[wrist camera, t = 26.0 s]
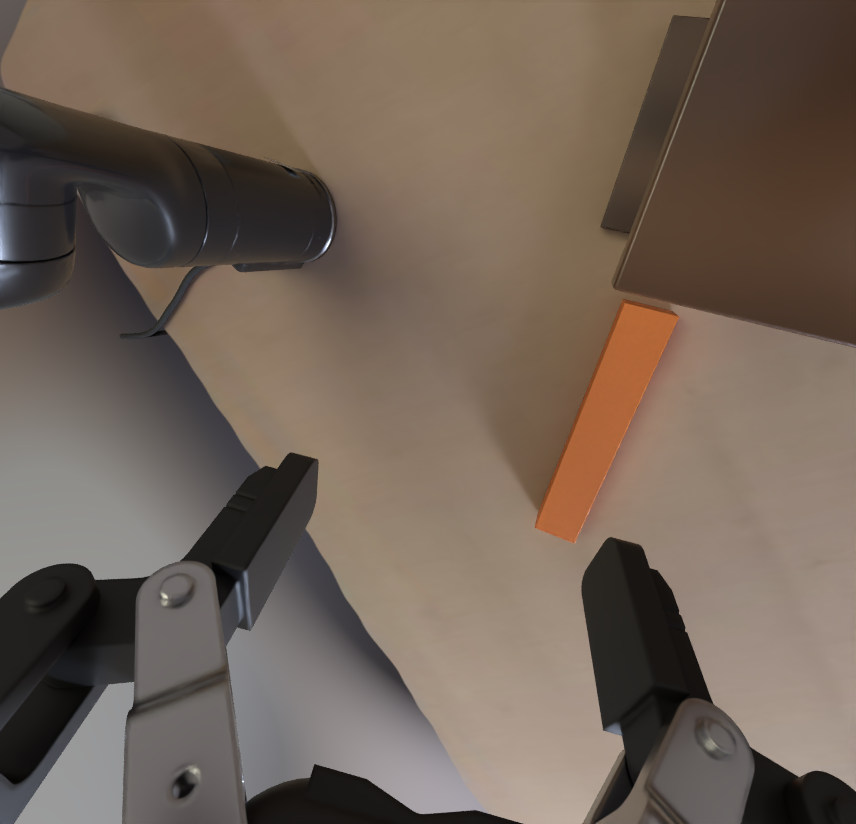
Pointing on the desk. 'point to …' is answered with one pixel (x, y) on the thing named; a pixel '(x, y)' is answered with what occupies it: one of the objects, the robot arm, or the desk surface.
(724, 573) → the desk surface
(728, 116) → the walnut stand
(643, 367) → the orange box
